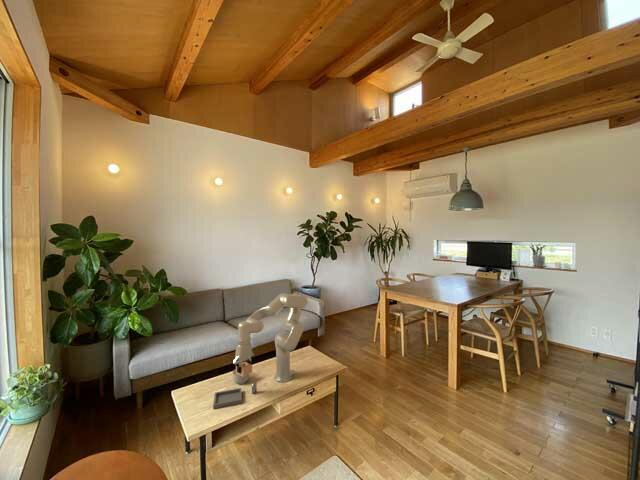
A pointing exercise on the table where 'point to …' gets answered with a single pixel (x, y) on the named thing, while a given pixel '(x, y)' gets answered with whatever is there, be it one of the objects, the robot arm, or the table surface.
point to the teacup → (239, 378)
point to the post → (254, 387)
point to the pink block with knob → (245, 369)
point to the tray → (227, 398)
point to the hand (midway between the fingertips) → (243, 369)
